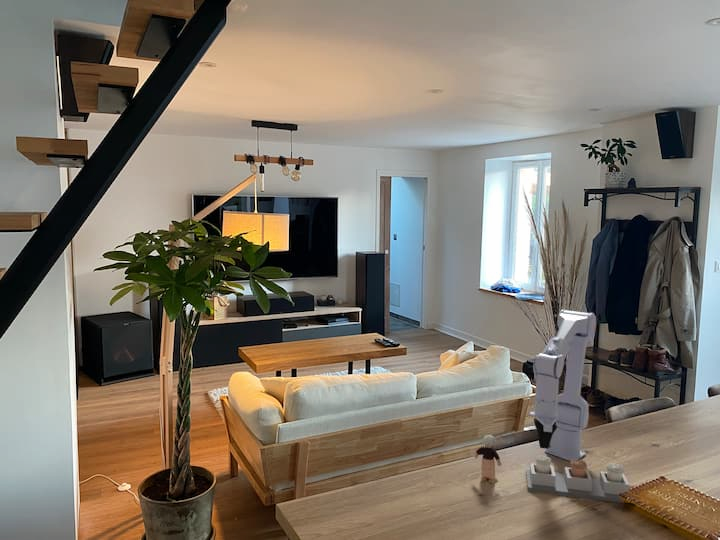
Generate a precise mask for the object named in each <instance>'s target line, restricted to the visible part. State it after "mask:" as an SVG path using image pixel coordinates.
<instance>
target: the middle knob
mask: <svg viewBox="0 0 720 540" xmlns="http://www.w3.org/2000/svg"><path fill="white" fill-rule="evenodd" d="M587 465H588V464H587V462H586V461H584V460H581V459H578V460H576V459H575V460H571V461H570V468H571V476H573V477H578V478H585V472H586V470H587V467H588V466H587Z"/></svg>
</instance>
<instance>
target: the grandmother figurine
mask: <svg viewBox="0 0 720 540" xmlns="http://www.w3.org/2000/svg"><path fill="white" fill-rule="evenodd" d="M495 441H496V440H495V437H494V436H493V435H492V434H487V435H484V437H483V438H482V441H481V442H482V443H481V444H482V445H484V446H481V447H479V448H478V449H476V450H475V454H474V456H473V457H474V458H475V459H478V457H479V456H482V457H481V465H480V467H481V478H480V480H481V481H484V482H486V481H488V482H489V483H491V484H494V483H497V482H498V481H499V480H498V478H497V477H496V465H498V467H500V466H502V463H501V458H500V455H499V454H498V451H496V449H495V448H493V447H494V443H495ZM496 463H497V464H496Z"/></svg>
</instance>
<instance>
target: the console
mask: <svg viewBox="0 0 720 540" xmlns="http://www.w3.org/2000/svg"><path fill="white" fill-rule="evenodd" d="M529 465H530V466H529V469H525V478H526V486H527V487H526V488H527V491H528V492H534V493H542V494H543V493H544V494H550V495H558V496H567V497H574V498H583V499H589V500H591V499H592V500H598V501H604V502H605V501H607V502H614V503H621V504H623V503H622V502H623V501H622V499H621V498H620V497H619V494H620V493H624V492H627V491H629V489H630V487H631V486H630V484H629V483H630V482H629V481H628V479H627V477H626V475H625V473H622V482H621V483H620V482H612V481H608V480H607V471H601V470H600V471H599V477H592V476H591V474H590V470H589V469H586V472H585V478H578V477H573V476H571V467H568V466H564V472H563V473H559V472H555V467H554V465H551V464H550V473H549V474H545V473H537V472H536V463H533V462H532V463H530V464H529Z"/></svg>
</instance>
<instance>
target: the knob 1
mask: <svg viewBox="0 0 720 540" xmlns="http://www.w3.org/2000/svg"><path fill="white" fill-rule="evenodd" d="M534 460H535V464H536V472H537V473H545V474H549V473H550V465H551V464H552V459H551V458H550V457H548V456H547V455H536V456H535V459H534Z"/></svg>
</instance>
